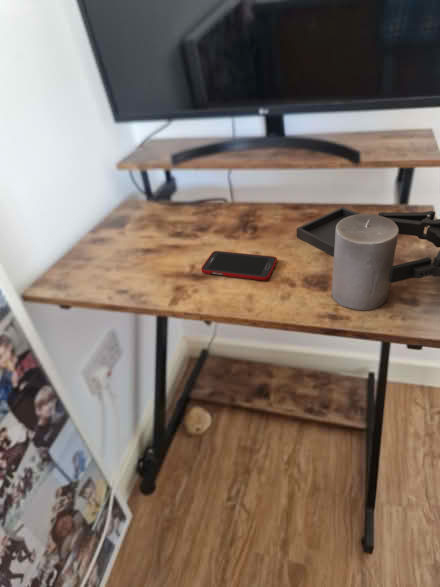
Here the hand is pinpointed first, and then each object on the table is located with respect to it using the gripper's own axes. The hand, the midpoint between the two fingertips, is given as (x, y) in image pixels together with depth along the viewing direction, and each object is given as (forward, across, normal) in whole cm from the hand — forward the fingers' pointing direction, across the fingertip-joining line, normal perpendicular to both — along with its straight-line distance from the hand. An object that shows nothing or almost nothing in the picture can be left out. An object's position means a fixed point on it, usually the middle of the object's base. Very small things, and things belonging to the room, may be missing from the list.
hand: (368, 253), depth 68 cm
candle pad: (-6, +19, -8) cm, 22 cm away
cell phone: (+19, +17, -8) cm, 27 cm away
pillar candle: (+1, 0, -9) cm, 9 cm away
